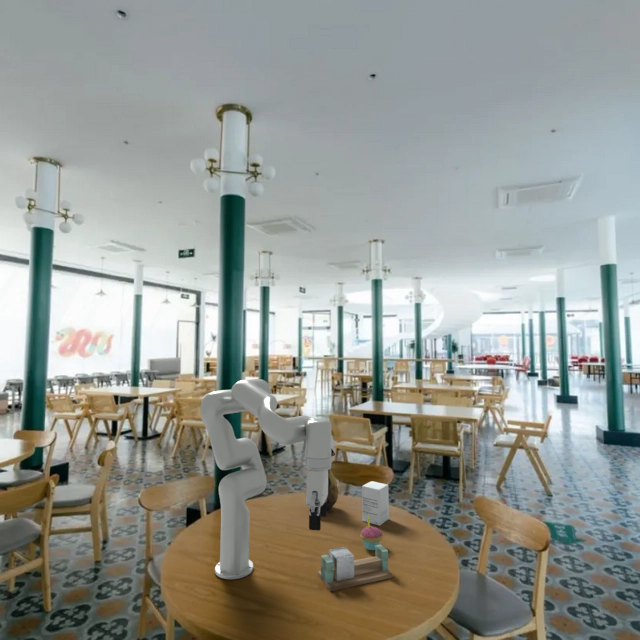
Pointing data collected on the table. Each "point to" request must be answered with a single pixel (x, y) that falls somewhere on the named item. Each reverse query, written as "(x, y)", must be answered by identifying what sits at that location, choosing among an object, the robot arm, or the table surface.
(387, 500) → the supplement box
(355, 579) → the rail bed
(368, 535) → the cupcake
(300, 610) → the table surface
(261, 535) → the table surface
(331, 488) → the ceramic jug
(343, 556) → the grey sliding block
